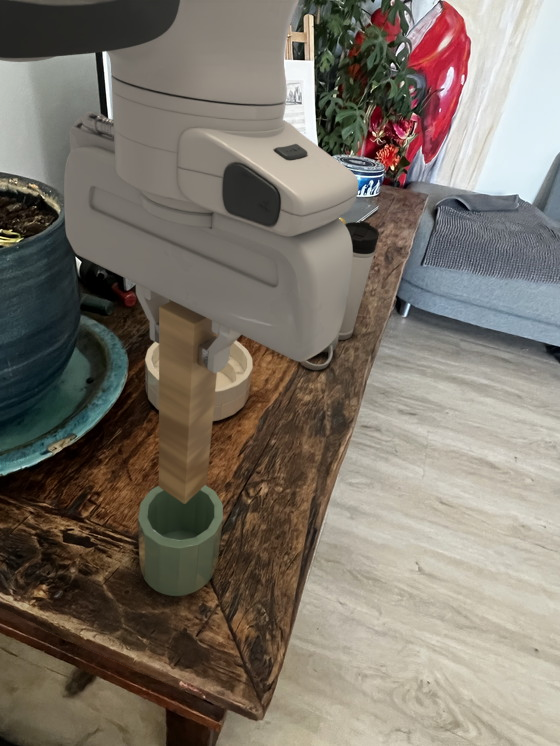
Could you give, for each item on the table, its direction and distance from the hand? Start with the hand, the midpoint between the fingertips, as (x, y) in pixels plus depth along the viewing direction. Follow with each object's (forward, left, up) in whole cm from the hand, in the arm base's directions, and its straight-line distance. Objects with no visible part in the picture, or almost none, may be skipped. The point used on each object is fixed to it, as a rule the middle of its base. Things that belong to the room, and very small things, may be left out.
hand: (189, 353), depth 35 cm
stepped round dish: (+22, +16, -26) cm, 37 cm away
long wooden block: (0, 0, -14) cm, 14 cm away
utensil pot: (0, 0, -26) cm, 26 cm away
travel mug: (+53, +9, -26) cm, 60 cm away
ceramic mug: (+43, +9, -26) cm, 51 cm away
